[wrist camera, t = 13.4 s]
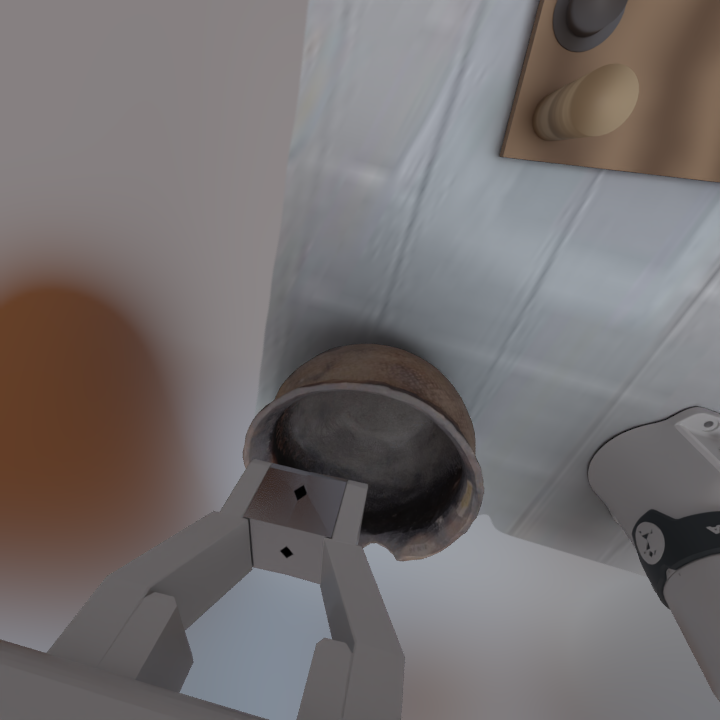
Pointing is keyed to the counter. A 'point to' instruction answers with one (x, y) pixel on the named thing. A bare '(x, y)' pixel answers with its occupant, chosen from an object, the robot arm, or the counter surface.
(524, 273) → the counter surface
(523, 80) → the stool
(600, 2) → the leg
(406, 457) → the ceramic bowl
